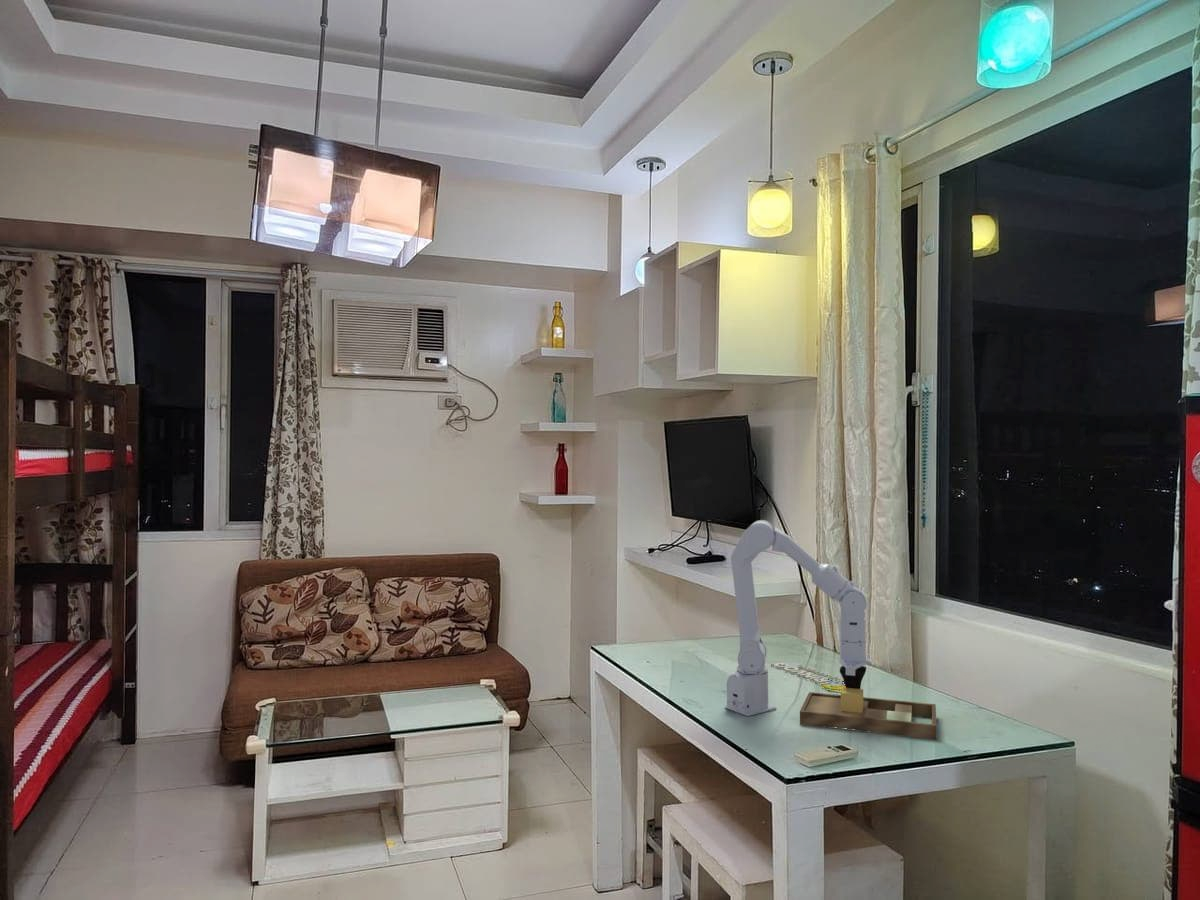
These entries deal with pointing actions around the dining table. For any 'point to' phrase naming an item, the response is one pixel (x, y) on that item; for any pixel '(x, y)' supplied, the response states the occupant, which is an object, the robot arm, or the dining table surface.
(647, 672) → the dining table surface
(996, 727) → the dining table surface
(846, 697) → the block
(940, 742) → the dining table surface
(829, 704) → the tray
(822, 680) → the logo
